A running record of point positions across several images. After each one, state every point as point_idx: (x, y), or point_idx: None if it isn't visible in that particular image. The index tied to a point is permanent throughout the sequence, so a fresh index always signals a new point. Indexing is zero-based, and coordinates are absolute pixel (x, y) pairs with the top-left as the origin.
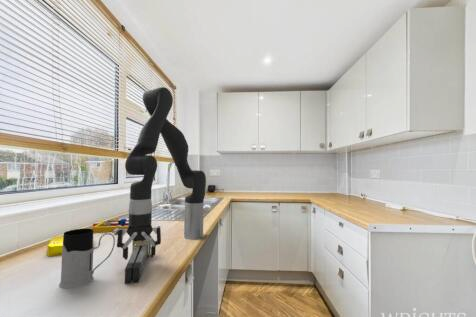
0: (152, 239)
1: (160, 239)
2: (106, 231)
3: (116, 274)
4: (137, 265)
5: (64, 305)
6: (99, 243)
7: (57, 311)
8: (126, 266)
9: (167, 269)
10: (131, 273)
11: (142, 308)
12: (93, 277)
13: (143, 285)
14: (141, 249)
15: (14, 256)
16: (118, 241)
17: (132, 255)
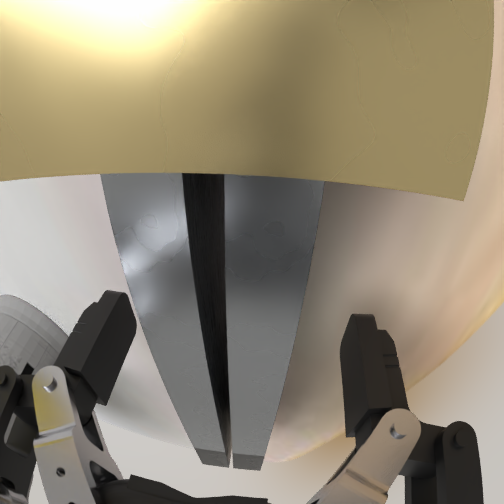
0: (378, 485)
1: (436, 493)
2: None
3: (138, 337)
4: (249, 465)
5: (104, 414)
6: (30, 485)
7: (108, 422)
8: (201, 458)
9: (410, 354)
10: (231, 446)
11: (281, 460)
12: (64, 340)
13: (282, 422)
14: (234, 310)
15: None
16: (21, 446)
17: (182, 401)
